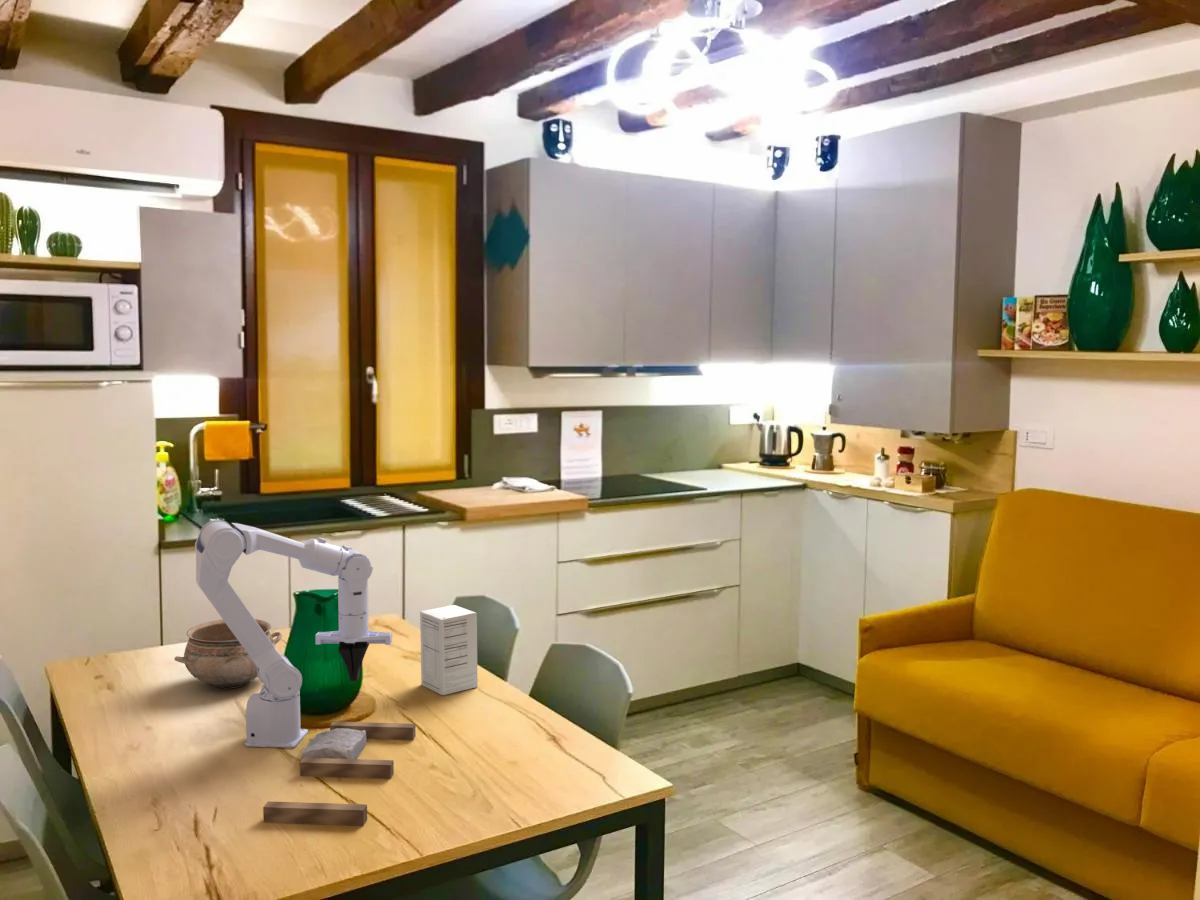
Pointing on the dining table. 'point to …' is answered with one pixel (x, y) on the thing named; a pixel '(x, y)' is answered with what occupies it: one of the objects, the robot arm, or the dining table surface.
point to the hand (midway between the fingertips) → (354, 679)
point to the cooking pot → (220, 655)
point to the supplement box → (448, 649)
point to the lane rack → (340, 768)
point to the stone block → (336, 744)
